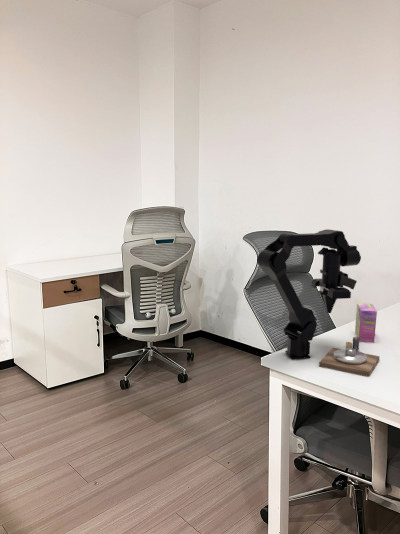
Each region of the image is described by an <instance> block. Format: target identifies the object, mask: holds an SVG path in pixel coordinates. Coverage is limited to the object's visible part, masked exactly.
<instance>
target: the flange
mask: <svg viewBox="0 0 400 534" xmlns="http://www.w3.org/2000/svg"><path fill="white" fill-rule="evenodd" d="M340 349H341V350H337V351H335V352H334V359H335V360H337V361H339V362H342V363H346V364H363V363H365V362H366V361H367V355H366V354H367V353H365V352H362V351H360V342H359V338H358V337H357V336H354V337H352V348H346V347H345V348H344V349H342V348H340ZM364 353H365V354H364Z"/></svg>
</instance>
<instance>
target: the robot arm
mask: <svg viewBox="0 0 400 534" xmlns="http://www.w3.org/2000/svg"><path fill="white" fill-rule="evenodd" d="M310 246H311V247H314V246H321V247H322V248H321V249H320V250H318V252H317V254H318V255H320V256H322V269H319V273H320V274H321V278H313V280H311V285H310V286H311V287H312V288H313V289H316V288H317V287H319V288H320V290H317V293H318V295H319V297H320V299H321V302H322V303H323V306H324V309H325V311H326V313H327V314H331V313H332V311H333V309H334V306H335V304H336V302H337V300H340V299H351V298H352V292H351V290H354V289H355V287H356V284H357V283H358V282H357V280H356V279H355V278H354V279H353V278H351V277H349V274H348V273H345V272H343V271H342V270H341V267H352V266H357V265H359V264H360V262H361V259H362V256H361V253H360V251H359V250H358V246H357V245H351V244H349V242H348V241H347V239H346V235H345V234H344V232H343V231H342V230H334V229H328V228H327V229H322V230H319V231H317V232H313V233H282V234H280V235H278V236H277V238H276V239H275V240H274V241H272V242H271V243H270V244H268V245H267V246H266V247H265V248H264V249H263V250H261V251H260V252H259V254H258V255H257V259H256V261H257V262H256V263H257V265H258V266H259V268H261V271H263V272H264V273H265V274H266V276H267V275H268V277H269V278H270V279H271V280H272V282H273V284H274V286H275V287H276V289H277V292H278V294H279V296H280V298H281V299H282V301H283V303H284V305H285V306H286V307H285V308H287V311H288V313H289V314H288V320H289V321H288V323H287V324H286V326H285V327H284V328H283V332H284V335H285V336H287V343H286V344H287V346H286V348H287V349H286V350H285V354H286V355H287V356H288V357H289V358H290V359H291V360H296V359H298V360H299V359H310V358H311V355H310V353H311V341H312V340H313V338H314V335H315V333H316V329H317V326H318V323H317V320H318V319H317V317H316V316H315V314H314V311H313V310H312V309H310V308H307V307H304V306H303V304H302V302H301V301H300V298H299V296H298V294H297V292H296V291H295V288H294V287H293V284H292V283H291V280H290V279H289V277H288V274H287V267H288V266H287V263H286V262H287V261H288V260H289V258H290V257H291V254H292V251H293V249H294V247H310ZM329 248H330V249H329ZM348 288H349V289H348ZM350 289H351V290H350Z"/></svg>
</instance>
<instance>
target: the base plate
mask: <svg viewBox="0 0 400 534" xmlns="http://www.w3.org/2000/svg"><path fill="white" fill-rule="evenodd" d="M352 345H353V342H351V341H346V343H345V348H352ZM341 349H342V348H338V347H332V348H331V349H330V350H329V351H328V352H327V353H326V355H324V356H323V357H322V358H321V360H320V361H319V364H318V366H319V367H321V368H325V369H331V370H335V371H338V372H344V373H349V374H352V375H353V374H354V375H358V376H365V377H367V378H368V377H369V378H370V376H371V375H372V373H373V371H374V370H375V369H376V367H377V365H378V364H379V362H380V355H376V354H375V355H374V354H369V353H365V352H363V353H364V354H366V355H367V361H366V362H365V363H363V364H346V363H342V362H339V361H337V360H335V359H334V352H335V351H337V350H341Z"/></svg>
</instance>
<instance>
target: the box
mask: <svg viewBox="0 0 400 534" xmlns="http://www.w3.org/2000/svg"><path fill="white" fill-rule="evenodd" d="M355 312H356V314H355V325H354V326H355V327H354V333H355V337H358V338H359V343H362V342H363V343H375V339H376V338H375V337H376V325H377V318H378V317H377V315H378V311H377V309H376V307H375V306H374V304H373V303H362V302H357V303H356V311H355Z"/></svg>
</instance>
